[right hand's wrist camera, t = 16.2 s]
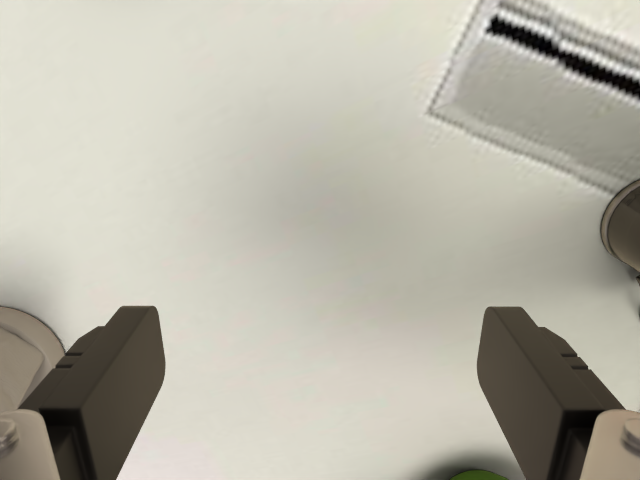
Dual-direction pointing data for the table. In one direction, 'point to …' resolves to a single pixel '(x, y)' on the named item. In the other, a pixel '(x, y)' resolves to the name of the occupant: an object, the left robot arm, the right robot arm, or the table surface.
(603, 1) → the table surface
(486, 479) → the vase
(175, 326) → the table surface
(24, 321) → the bust sculpture
